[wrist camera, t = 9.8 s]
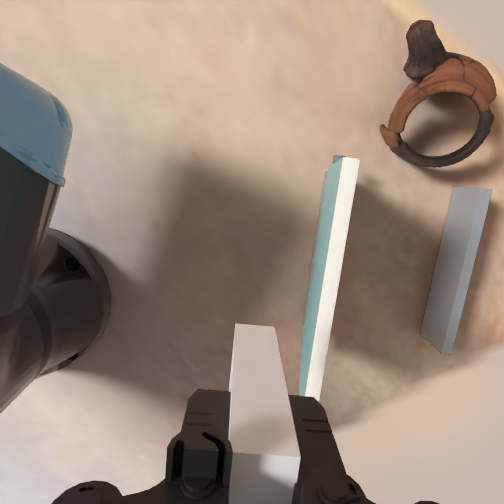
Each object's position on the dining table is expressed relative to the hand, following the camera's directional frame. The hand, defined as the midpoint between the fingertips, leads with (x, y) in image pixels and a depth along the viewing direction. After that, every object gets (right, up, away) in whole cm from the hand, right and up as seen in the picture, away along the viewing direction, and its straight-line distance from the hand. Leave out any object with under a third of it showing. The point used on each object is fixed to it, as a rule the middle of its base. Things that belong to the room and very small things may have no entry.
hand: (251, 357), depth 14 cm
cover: (+5, +2, +12) cm, 13 cm away
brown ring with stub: (+16, +19, +21) cm, 32 cm away
